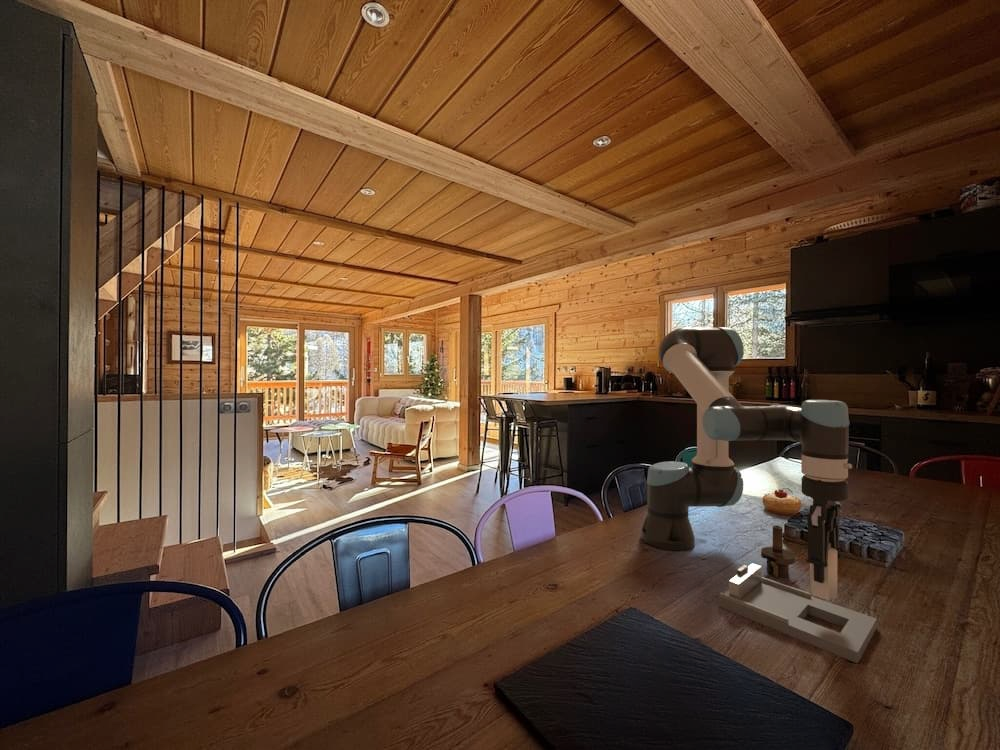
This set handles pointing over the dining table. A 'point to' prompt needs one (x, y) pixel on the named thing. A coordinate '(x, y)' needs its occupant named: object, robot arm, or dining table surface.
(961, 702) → the dining table surface
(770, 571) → the industrial component
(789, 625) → the housing plate
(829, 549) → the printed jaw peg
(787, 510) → the pastry
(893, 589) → the dining table surface
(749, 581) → the lock bar
